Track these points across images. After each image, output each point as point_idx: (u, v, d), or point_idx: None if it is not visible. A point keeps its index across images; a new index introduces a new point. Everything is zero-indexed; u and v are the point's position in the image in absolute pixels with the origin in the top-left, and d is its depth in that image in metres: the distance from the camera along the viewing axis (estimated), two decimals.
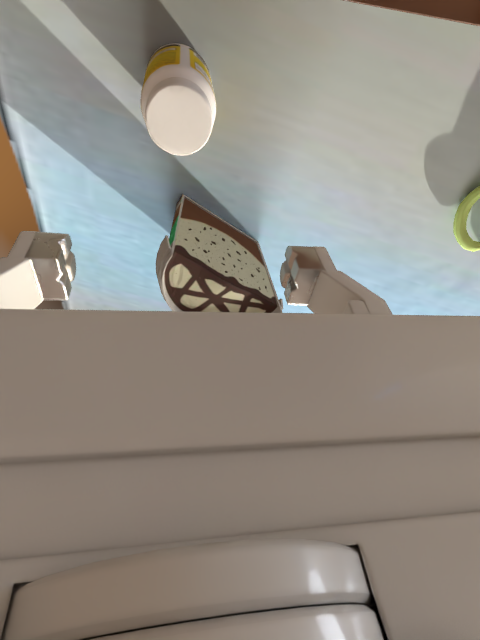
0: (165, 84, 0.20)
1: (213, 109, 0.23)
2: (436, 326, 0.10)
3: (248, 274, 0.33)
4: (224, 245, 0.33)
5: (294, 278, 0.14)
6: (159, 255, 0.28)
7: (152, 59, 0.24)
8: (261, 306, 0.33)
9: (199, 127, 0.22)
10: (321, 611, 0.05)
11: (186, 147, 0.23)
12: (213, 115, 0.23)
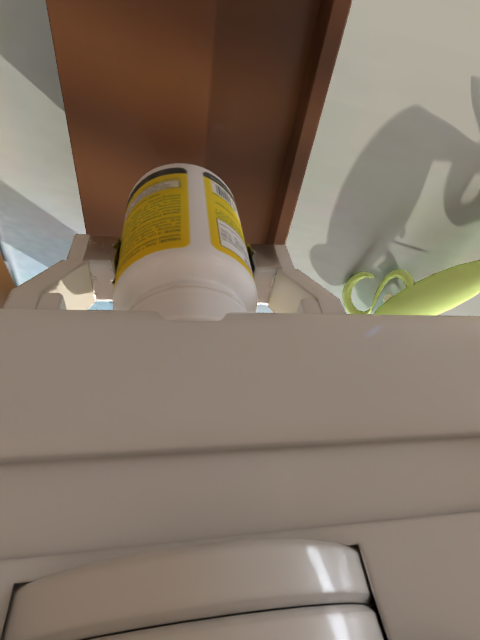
0: (161, 315, 0.09)
1: (253, 310, 0.12)
2: (436, 326, 0.10)
3: None
4: None
5: None
6: None
7: (136, 200, 0.13)
8: None
9: None
10: (321, 611, 0.05)
11: None
12: None
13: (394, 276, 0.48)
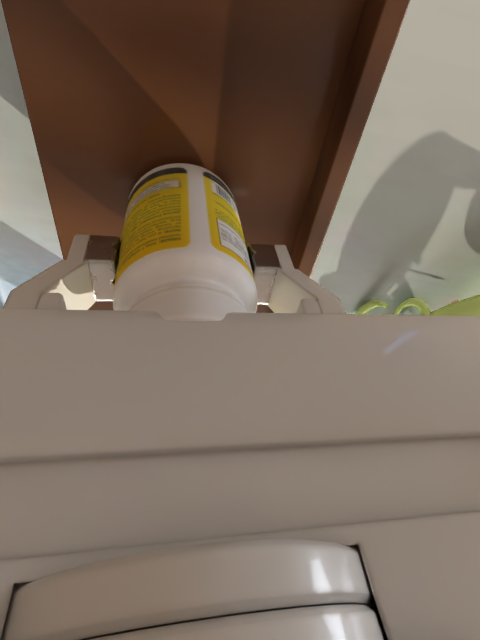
0: (161, 315, 0.09)
1: (253, 310, 0.12)
2: (436, 326, 0.10)
3: None
4: None
5: None
6: None
7: (136, 200, 0.13)
8: None
9: None
10: (321, 611, 0.05)
11: None
12: None
13: (409, 305, 0.45)
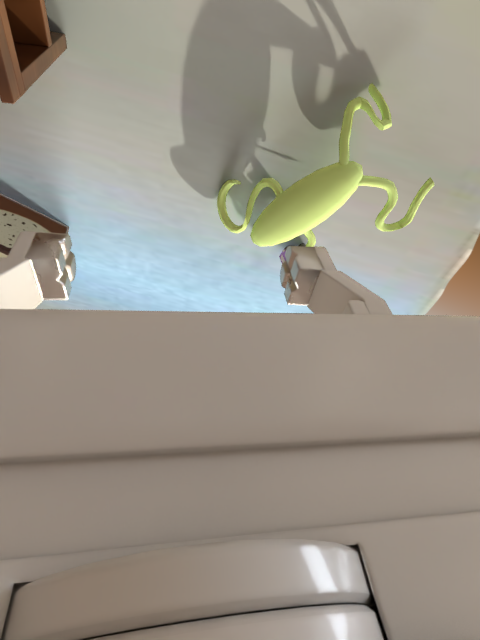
0: None
1: None
2: (436, 326, 0.10)
3: None
4: (21, 226, 0.45)
5: (294, 278, 0.14)
6: None
7: None
8: None
9: None
10: (321, 611, 0.05)
11: None
12: None
13: (263, 185, 0.48)
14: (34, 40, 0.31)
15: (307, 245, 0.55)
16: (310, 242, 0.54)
